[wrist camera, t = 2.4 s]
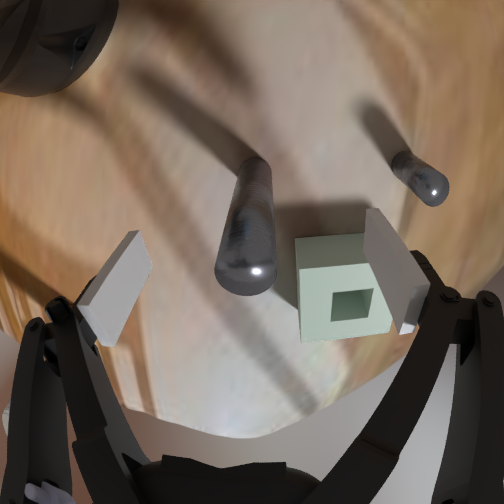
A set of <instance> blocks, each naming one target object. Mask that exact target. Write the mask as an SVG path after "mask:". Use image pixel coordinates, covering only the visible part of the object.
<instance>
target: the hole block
mask: <svg viewBox="0 0 504 504" xmlns="http://www.w3.org/2000/svg"><path fill="white" fill-rule="evenodd" d="M363 245H364V233H354V234H341V235H328V236H316V237H303V238H295V254H296V275H297V301H298V317H299V327H300V338H301V343H305V342H316V341H326V340H335V339H344V338H352V337H359V336H367V335H374V334H380V333H387V332H389V329H390V326H391V323H392V320H393V318H392V316H391V313H390V311H389V308H388V306H387V303H386V301H385V299H384V296H383V294H382V292H381V289H380V287H379V285H378V283H377V280H376V278H375V276H374V274H373V271H372V269H371V267H370V265H369V263H368V261H367V258H366V256H365V254H364V252H363Z"/></svg>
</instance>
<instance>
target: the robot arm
mask: <svg viewBox="0 0 504 504" xmlns="http://www.w3.org/2000/svg"><path fill="white" fill-rule="evenodd" d="M117 10H118V0H0V92H3V93H8V94H13V95H19V96H23V97H37V96H41V95H45V94H50V93H54V92H57V91H59V90H61V89H63V88H65V87H67V86H69V85H70V84H72V83H73V82H74V81H76V80H77V79H78V78H79V77H80V76H81V75H82V74H83V73H84V72H85V71H86V70H87V69H88V68H89V67H90V66H91V65H92V63H93V62H94V61H95V59H96V58H97V57H98V55H99V54H100V52H101V50H102V49H103V47H104V45H105V43H106V42H107V40H108V37H109V35H110V33H111V31H112V28H113V25H114V22H115V19H116V15H117ZM363 252H364V254H365V256H366V258H367V261H368V263H369V265H370V267H371V269H372V271H373V274H374V276H375V278H376V280H377V283H378V285H379V287H380V289H381V292H382V294H383V296H384V299H385V301H386V303H387V306H388V308H389V311H390V313H391V316H392V318H393V321H394V323H395V326H396V328H397V331H398V334H399V335H400V334H406V333H412V332H414V331H415V328H416V325H417V323H418V325H419V327H420V328H419V330H418V333H417V335H416V337H415V339H414V341H413V343H412V345H411V347H410V349H409V351H408V354H407V355H406V358H405V359H404V361H403V363H402V365H401V367H400V369H399V371H398V373H397V375H396V376H395V378H394V380H393V382H392V384H391V385H390V387H389V389H388V390H387V392H386V394H385V396H384V397H383V399H382V401H381V402H380V404H379V405H378V407H377V409H376V410H375V412H374V413H373V415H372V416H371V418H370V419H369V421H368V423H367V424H366V425H365V427H364V428H363V430H362V431H361V433H360V434H359V435H358V436H357V437H356V439H355V440H354V441H353V443H352V444H351V445H350V447H349V448H348V449H347V451H346V452H345V453H344V455H343V456H342V457H341V458H340V460H339V461H338V462H337V464H336V465H335V466H334V467H333V468H332V470H331V471H330V472H329V473H328V475H327V476H326V477H325V478H324V479H323V480H322V481H319V480H318V479H316V478H315V477H313V476H312V475H310V474H308V473H305V472H303V471H301V470H297V469H294V468H288V467H287V466H286V462H271V463H250V464H245V465H239V466H234V467H228V468H216V467H214V466H210V465H207V464H204V463H201V462H199V461H196V460H193V459H191V458H183V457H176V456H169V455H163V456H162V460H161V461H156V462H151V461H150V460H149V459H148V458H147V457H146V455H145V454H144V453H143V451H142V450H141V448H140V446H139V444H138V442H137V440H136V438H135V436H134V434H133V433H132V430H131V429H130V426H129V424H128V422H127V420H126V418H125V416H124V414H123V412H122V409H121V407H120V405H119V402H118V400H117V398H116V395H115V393H114V391H113V388H112V386H111V383H110V381H109V378H108V376H107V373H106V370H105V368H104V365H103V362H102V359H101V357H100V354H99V351H98V348H97V347H96V345H95V344H94V343H95V341H96V339H97V338H98V340H99V341H100V343H101V344H102V346H110V347H115V344H116V342H117V340H118V338H119V336H120V333H121V331H122V329H123V327H124V325H125V323H126V320H127V318H128V316H129V314H130V312H131V310H132V308H133V306H134V304H135V302H136V300H137V298H138V296H139V294H140V292H141V290H142V288H143V286H144V284H145V282H146V280H147V278H148V276H149V274H150V272H151V270H152V268H153V266H152V263H151V260H150V258H149V255H148V252H147V249H146V246H145V244H144V241H143V238H142V235H141V232H140V230H136V231H129V232H128V234H127V235H126V236H125V238H124V239H123V240H122V241H121V243H120V244H119V245H118V247H117V248H116V249H115V251H114V252H113V253H112V255H111V256H110V258H109V259H108V260H107V262H106V263H105V264H104V266H103V267H102V269H101V270H100V271H99V273H98V274H97V275H96V276H95V277H93V278H92V279H91V280H90V281H89V282H88V284H87V285H86V287H85V289H83V291H82V292H81V294H80V295H79V297H78V298H77V300H76V301H75V303H74V304H73V306H72V308H71V307H70V305H69V303H68V302H67V300H66V298H65V297H63V296H59V297H56V298H54V299H53V300H51V301H50V302H49V303H48V304H47V305H46V307H45V312H46V314H47V316H48V317H49V319H50V320H51V323H47V324H45V322H44V321H43V320H42V318H40V317H36V318H34V319H32V320H31V321H29V322H28V324H27V325H26V327H25V330H24V334H23V338H22V342H21V346H20V350H19V355H18V359H17V365H16V370H15V375H14V381H13V388H12V394H11V402H10V411H9V422H8V439H7V464H6V469H5V474H4V479H3V483H2V489H1V495H0V504H77V503H75V502H74V500H73V498H72V477H71V468H70V460H69V451H68V438H67V418H66V417H67V416H66V402H67V406H68V410H69V413H70V417H71V421H72V424H73V428H74V431H75V434H76V437H77V440H76V441H74V442H73V443H72V448H73V452H74V455H75V458H76V461H77V463H78V466H79V469H80V472H81V474H82V477H83V479H84V482H85V484H86V487H87V489H88V491H89V494H90V496H91V498H92V500H93V503H92V504H369V503H370V502H371V501H372V499H373V498H374V497H375V495H376V494H377V493H378V491H379V490H380V488H381V487H382V486H383V484H384V483H385V481H386V480H387V478H388V477H389V475H390V474H391V472H392V470H393V469H394V467H395V466H396V464H397V462H398V459H399V455H400V452H401V451H402V449H403V447H404V445H405V444H406V442H407V440H408V439H409V437H410V435H411V433H412V431H413V429H414V427H415V425H416V423H417V422H418V419H419V418H420V416H421V413H422V411H423V409H424V407H425V405H426V403H427V401H428V398H429V396H430V394H431V392H432V389H433V387H434V385H435V382H436V380H437V377H438V375H439V372H440V370H441V367H442V364H443V362H444V359H445V356H446V353H447V350H448V347H449V344H457V353H456V372H455V384H454V394H453V403H452V410H451V417H450V424H449V429H448V435H447V440H446V445H445V449H444V454H443V458H442V462H441V466H440V470H439V473H438V477H437V481H436V484H435V488H434V492H433V495H432V500H431V504H504V484H503V480H504V317H503V311H502V306H501V302H500V300H499V298H498V297H497V296H496V295H495V294H494V293H492V292H489V291H484V290H483V291H480V292H479V293H478V294H477V296H476V298H475V299H468V298H462V297H461V295H460V293H459V292H457V291H456V290H455V289H453V288H451V287H447V286H445V285H444V283H443V282H442V280H441V279H440V277H439V276H438V274H437V273H436V271H435V270H434V269H433V267H432V265H431V264H429V261H428V260H427V258H426V257H425V256H424V255H423V254H422V253H420V252H419V251H418V250H414V251H409V250H408V248H407V247H406V245H405V244H404V242H403V241H402V240H401V238H400V237H399V235H398V234H397V233H396V231H395V230H394V228H393V227H392V226H391V224H390V223H389V221H388V220H387V219H386V217H385V216H384V215H383V213H382V212H381V211H380V210H379V208H376V209H366V219H365V233H364V245H363ZM44 358H45V360H44Z"/></svg>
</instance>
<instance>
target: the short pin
mask: <svg viewBox="0 0 504 504" xmlns="http://www.w3.org/2000/svg"><path fill="white" fill-rule="evenodd" d="M392 171H393V173H394V175H395V176H396V177H397V178H398V179H399V180H401V181H402V182H403V183H404V184H405V185H406V186H407V187H408V188H409V189H410V190H411V191H412V192H413V193H415V194H416V195H417V196H418V197H419V198H420V199H421V200H422V201H423V202H424V203H425V204H426V205H428V206H431V207H435V206H438V205H440V204H441V203H443V202H444V201H445V199H446V198H447V196H448V193H449V182H448V180H447V178H446V177H445V176H444V175H443V174H441V173H440V172H439V171H437V170H436V169H434V168H433V167H431V166H430V165H428V164H427V163H425V162H424V161H422V160H421V159H419V158H418V157H416V156H415V155H413V154H412V153H410V152H407V151H403V152H400V153H398V154H397V155H396V156H395V157H394V159H393V161H392Z"/></svg>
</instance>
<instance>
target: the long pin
mask: <svg viewBox="0 0 504 504" xmlns="http://www.w3.org/2000/svg"><path fill="white" fill-rule="evenodd" d="M276 275H277V268H276V245H275V225H274V206H273V188H272V172H271V168H270V166H269V164H268V163H267V162H266V161H264V160H263V159H260V158H251V159H248V160H246V161H245V162H244V163H243V164H242V165H241V167H240V171H239V174H238V178H237V182H236V185H235V189H234V193H233V197H232V200H231V204H230V208H229V212H228V216H227V220H226V224H225V227H224V231H223V235H222V239H221V243H220V247H219V251H218V255H217V259H216V263H215V276H216V279H217V281H218V282H219V284H220V285H221V286H222V287H223V288H224V289H226V290H227V291H229V292H231V293H234V294H237V295H242V296H252V295H257V294H260V293H263V292H264V291H266V290H268V289H269V288H270V287H271V286H272V285H273V283H274V281H275V279H276Z"/></svg>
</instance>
